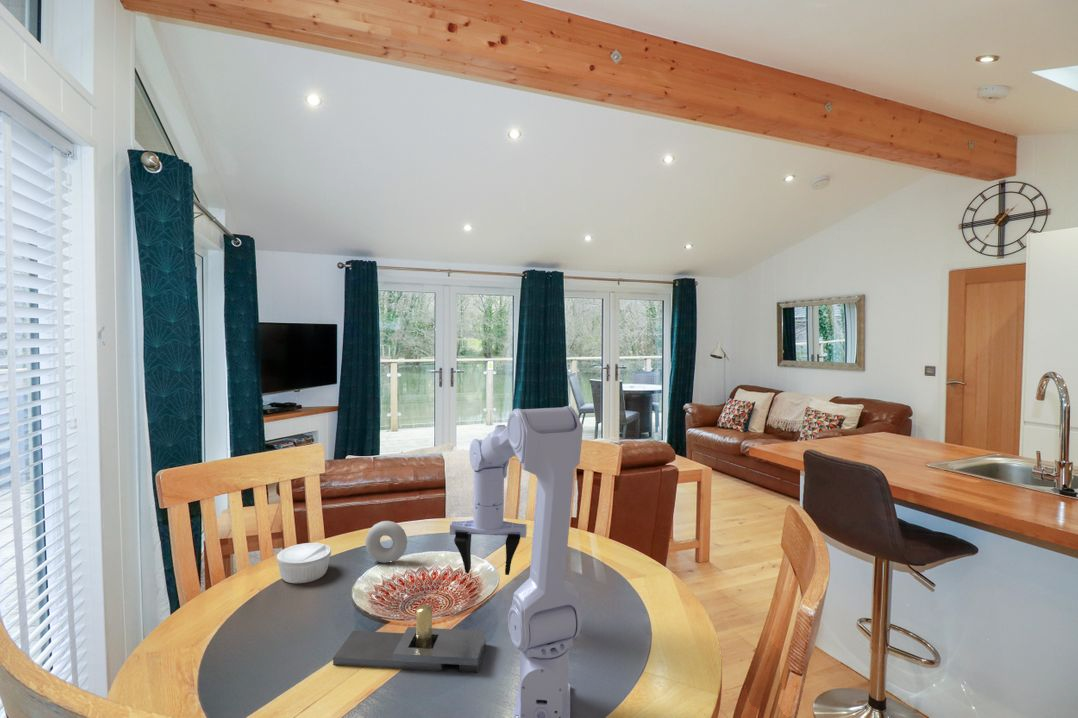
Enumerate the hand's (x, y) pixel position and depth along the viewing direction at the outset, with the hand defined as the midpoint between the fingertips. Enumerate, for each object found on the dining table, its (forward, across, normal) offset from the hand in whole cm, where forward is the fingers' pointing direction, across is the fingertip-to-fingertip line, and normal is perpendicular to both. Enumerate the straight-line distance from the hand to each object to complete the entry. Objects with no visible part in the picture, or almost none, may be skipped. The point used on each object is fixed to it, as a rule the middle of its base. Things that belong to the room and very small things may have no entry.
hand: (487, 571), depth 101 cm
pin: (+9, +9, +12) cm, 18 cm away
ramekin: (+10, +44, -15) cm, 47 cm away
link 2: (+9, +6, +12) cm, 16 cm away
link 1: (+9, +14, +12) cm, 21 cm away
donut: (+10, +28, -23) cm, 37 cm away
